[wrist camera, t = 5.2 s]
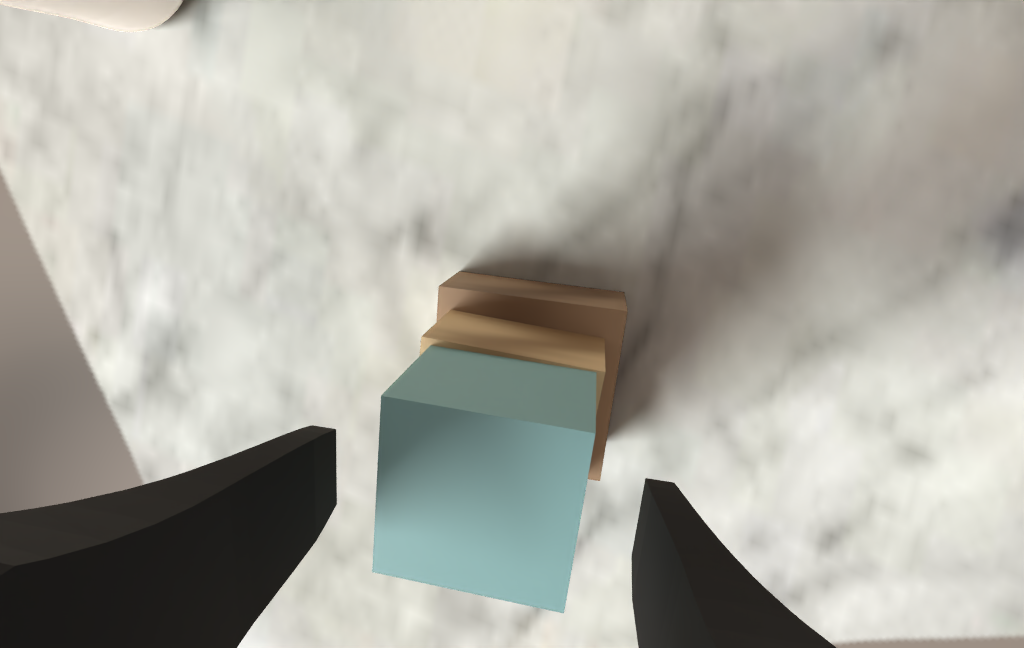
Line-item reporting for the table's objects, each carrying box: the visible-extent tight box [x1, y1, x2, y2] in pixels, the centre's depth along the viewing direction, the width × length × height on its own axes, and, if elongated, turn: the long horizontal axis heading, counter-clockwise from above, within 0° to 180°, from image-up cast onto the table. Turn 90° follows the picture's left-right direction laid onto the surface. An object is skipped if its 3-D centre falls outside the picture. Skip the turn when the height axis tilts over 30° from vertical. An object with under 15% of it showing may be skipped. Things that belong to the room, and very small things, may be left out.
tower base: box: [437, 271, 627, 481], centre depth 19 cm, size 6×6×3 cm
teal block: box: [372, 345, 596, 613], centre depth 13 cm, size 4×4×4 cm
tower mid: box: [420, 310, 605, 414], centre depth 17 cm, size 5×5×3 cm
